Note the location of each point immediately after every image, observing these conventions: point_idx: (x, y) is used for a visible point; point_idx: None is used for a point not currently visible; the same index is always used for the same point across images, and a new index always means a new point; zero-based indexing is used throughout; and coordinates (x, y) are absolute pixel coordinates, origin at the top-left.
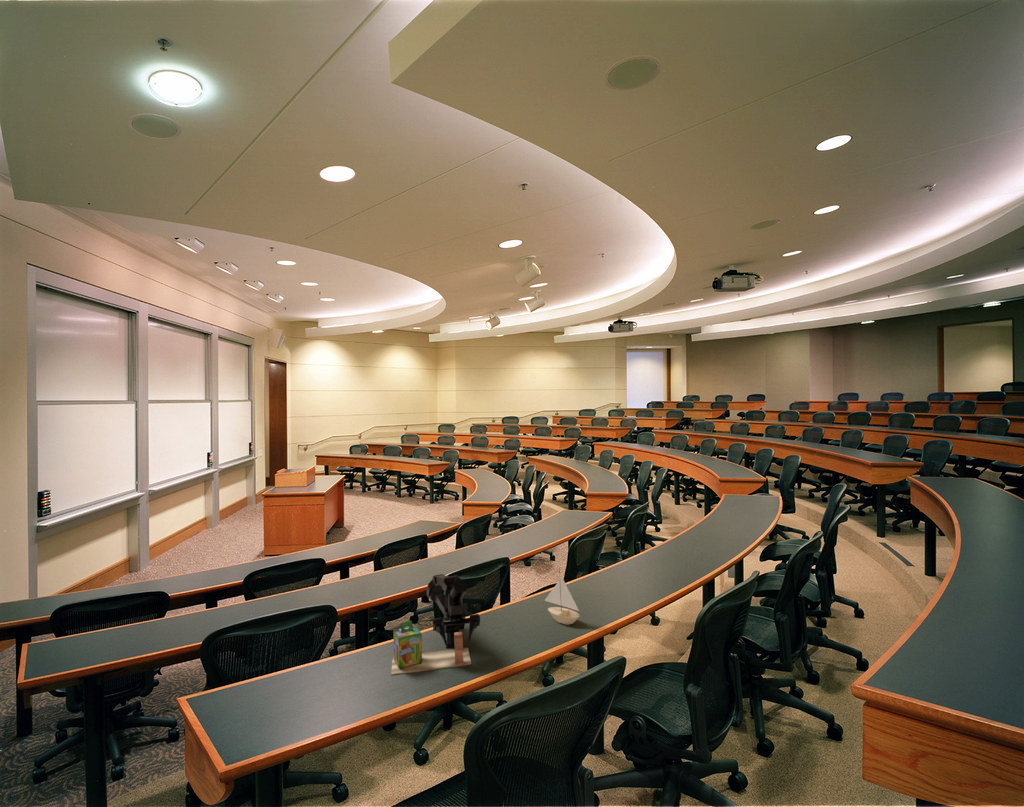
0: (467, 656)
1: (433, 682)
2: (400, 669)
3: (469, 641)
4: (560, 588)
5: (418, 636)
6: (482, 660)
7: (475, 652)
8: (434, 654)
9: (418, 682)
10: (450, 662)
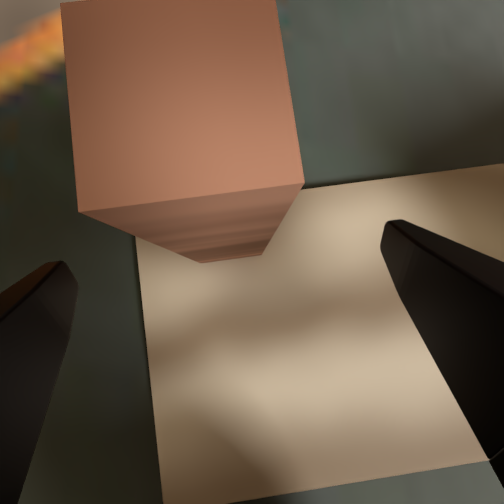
0: (164, 333)
1: (381, 19)
2: None
3: (53, 263)
4: None
5: None
6: None
7: (102, 427)
8: (446, 409)
9: (477, 32)
10: (296, 247)
